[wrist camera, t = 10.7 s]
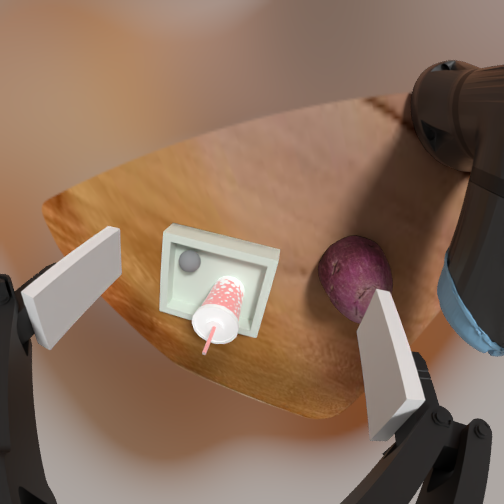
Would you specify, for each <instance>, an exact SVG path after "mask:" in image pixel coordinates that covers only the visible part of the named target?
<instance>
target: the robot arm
mask: <svg viewBox="0 0 504 504" xmlns="http://www.w3.org/2000/svg"><path fill="white" fill-rule="evenodd" d="M411 115H412V120H413V124H414V128H415V131H416V133H417V135H418V137H419V139H420V141H421V143H422V144H423V146H424V147H425V149H426V150H427V151H428V152H429V153H430V155H431V156H433V157H434V158H435V159H436V160H437V161H439V162H440V163H442V164H444V165H446V166H448V167H451V168H453V169H456V170H459V171H465V172H471V174H470V179H469V182H468V186H467V190H466V194H465V198H464V202H463V206H462V209H461V213H460V216H459V220H458V223H457V226H456V229H455V232H454V235H453V238H452V241H451V244H450V246H449V248H448V249H447V251H446V254H445V260H444V266H443V269H442V272H441V275H440V278H439V281H438V286H437V295H438V298H439V302H440V307H441V310H442V312H443V314H444V316H445V318H446V319H447V321H448V322H449V324H450V325H451V327H452V328H453V329H454V330H455V331H456V333H457V334H458V335H459V336H460V337H461V338H462V339H463V340H464V341H465V342H467V343H468V344H469V345H470V346H472V347H473V348H475V349H476V350H478V351H480V352H482V353H486V352H487V351H488V353H489V354H490V355H491V356H503V355H504V65H497V66H491V67H485V68H479V67H477V66H474V65H471V64H469V63H466V62H463V61H457V60H448V61H443V62H440V63H436V64H434V65H432V66H430V67H428V68H427V69H426V70H424V71H423V72H422V74H421V75H420V76H419V78H418V79H417V81H416V83H415V85H414V88H413V92H412V97H411ZM121 274H122V269H121V248H120V229H118V228H114V227H110V226H108V227H106V228H105V229H103V230H102V231H100V232H99V233H97V234H96V235H95V236H93V237H92V238H90V239H89V240H87V241H86V242H85V243H83V244H82V245H81V246H79V247H78V248H76V249H75V250H74V251H72V252H71V253H70V254H68V255H67V256H66V257H64V258H63V259H62V260H60V261H59V262H58V263H53V264H51V265H49V266H46V267H45V268H44V269H42V270H41V271H40V272H39V274H36V275H35V276H33V278H31V279H30V280H28V281H27V282H26V283H25V284H23V285H22V286H21V287H20V288H18V289H17V290H16V291H15V292H14V289H13V285H12V281H11V278H10V277H9V275H6V274H0V504H57V502H56V499H55V497H54V495H53V493H52V491H51V489H50V488H49V486H48V484H47V481H46V478H45V474H44V469H43V465H42V460H41V454H40V448H39V442H38V435H37V428H36V420H35V410H34V399H33V385H32V384H33V383H32V343H31V339H30V338H31V337H32V335H33V334H35V336H36V339H37V342H38V344H40V345H42V346H43V347H45V348H47V349H49V350H51V349H52V348H53V346H54V345H55V344H56V343H57V342H58V341H59V340H60V338H61V337H62V336H63V335H64V334H65V333H66V332H67V331H68V330H69V328H70V327H71V326H72V325H73V324H74V323H75V322H76V321H77V320H78V319H79V318H80V316H81V315H82V314H83V313H84V312H85V311H86V310H87V309H88V308H89V307H90V306H91V305H92V304H93V303H94V301H96V300H97V299H98V297H99V296H100V295H101V294H102V293H103V292H104V291H105V290H106V289H107V288H108V287H109V286H110V285H111V284H112V283H113V282H114V281H115V280H116V279H117V278H118V277H119V276H120V275H121ZM357 338H358V344H359V350H360V357H361V364H362V372H363V379H364V387H365V395H366V405H367V415H368V424H369V437H370V441H387V440H389V439H390V438H391V437H392V436H393V434H395V439H396V442H395V443H394V444H393V445H392V446H391V447H390V448H388V449H387V450H386V451H385V452H384V453H383V455H384V456H383V457H382V458H381V460H380V461H379V462H378V463H377V464H376V466H375V467H374V468H373V469H372V470H371V472H370V473H369V474H368V475H367V476H366V477H365V478H364V479H363V480H362V482H361V483H360V484H359V485H358V486H357V487H356V488H355V489H354V490H353V491H352V492H351V493H350V494H349V496H347V497H346V498H345V499H344V500H343V501H342V502H341V503H340V504H408V503H409V502H410V501H411V499H412V498H413V496H414V495H415V493H416V492H417V490H418V489H419V487H420V486H421V484H422V483H423V485H422V488H421V490H420V493H419V496H418V499H417V501H416V504H483V500H484V495H485V489H486V484H487V478H488V471H489V464H490V455H491V444H492V431H491V429H490V426H489V425H488V424H487V423H486V422H485V421H484V420H482V419H473V420H472V421H471V422H470V423H469V424H468V425H464V424H461V423H458V422H455V421H453V417H452V415H451V414H450V412H449V411H448V410H447V409H445V408H444V407H442V406H439V403H438V400H437V396H436V393H435V390H434V387H433V383H432V380H430V379H431V377H430V374H429V372H428V368H427V365H426V362H425V360H424V359H423V358H422V356H421V355H420V354H419V353H418V352H412V351H411V350H410V347H409V344H408V341H407V338H406V335H405V332H404V329H403V326H402V323H401V320H400V318H399V315H398V312H397V309H396V307H395V304H394V301H393V299H392V296H391V294H390V292H388V291H384V290H379V289H376V290H375V293H374V295H373V297H372V299H371V302H370V304H369V306H368V308H367V311H366V313H365V315H364V317H363V319H362V321H361V323H360V325H359V328H358V330H357ZM423 481H424V482H423Z"/></svg>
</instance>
